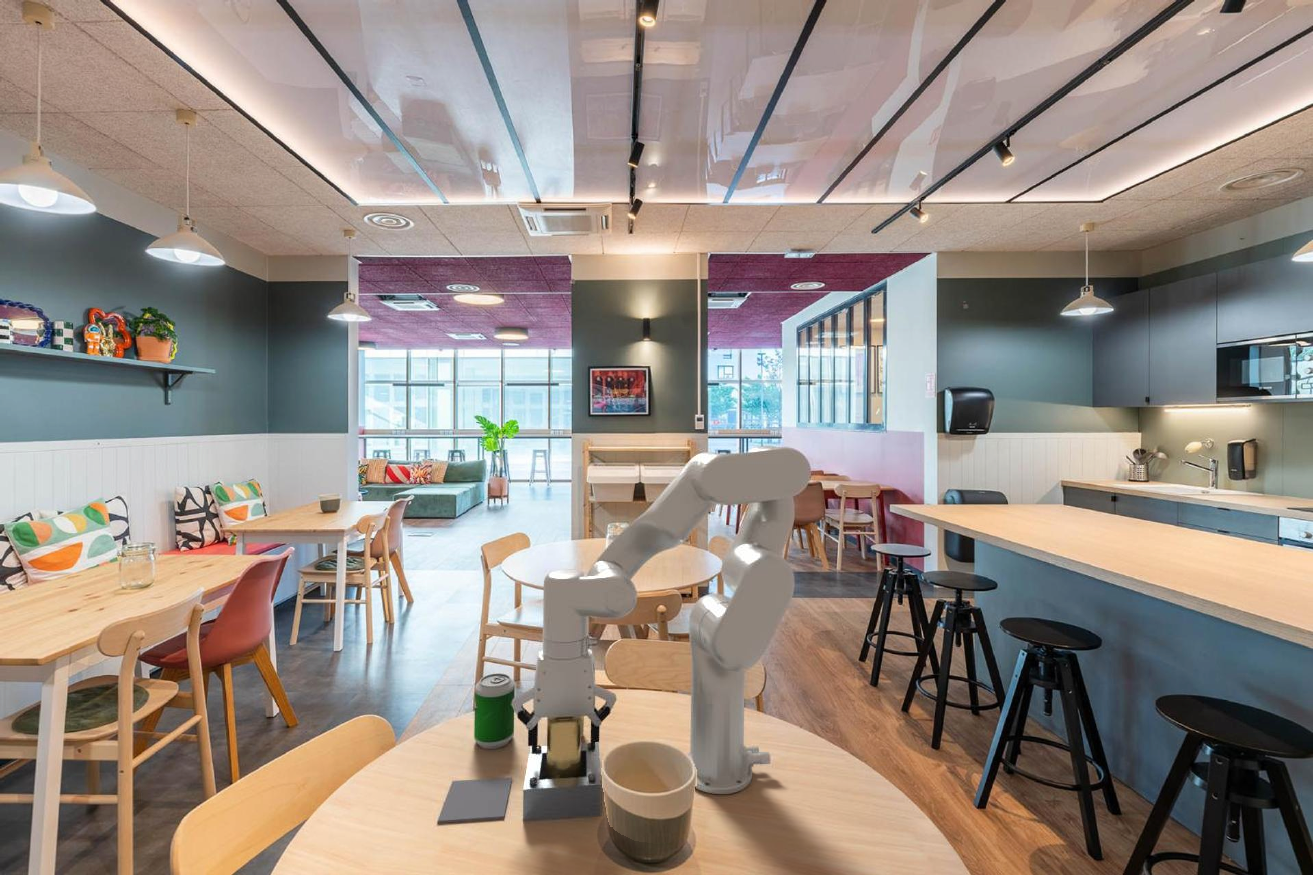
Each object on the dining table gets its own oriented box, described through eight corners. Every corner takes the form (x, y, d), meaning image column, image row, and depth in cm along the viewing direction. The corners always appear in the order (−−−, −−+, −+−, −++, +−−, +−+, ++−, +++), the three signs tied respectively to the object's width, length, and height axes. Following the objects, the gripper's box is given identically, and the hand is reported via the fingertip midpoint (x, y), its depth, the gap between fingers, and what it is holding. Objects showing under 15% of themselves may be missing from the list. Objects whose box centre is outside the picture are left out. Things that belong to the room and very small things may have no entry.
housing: (598, 770, 100) (598, 739, 100) (600, 815, 88) (600, 780, 88) (530, 774, 99) (530, 743, 99) (522, 821, 87) (523, 785, 87)
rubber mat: (512, 779, 97) (512, 777, 97) (504, 818, 87) (504, 815, 87) (452, 783, 96) (452, 780, 96) (437, 823, 86) (437, 820, 86)
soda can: (522, 737, 111) (523, 677, 111) (492, 755, 104) (493, 691, 104) (496, 726, 115) (496, 668, 115) (465, 743, 108) (466, 681, 108)
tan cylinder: (580, 782, 97) (581, 705, 96) (580, 804, 91) (581, 722, 91) (547, 784, 96) (548, 707, 96) (545, 806, 90) (546, 723, 90)
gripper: (615, 636, 98) (614, 732, 98) (515, 639, 96) (513, 738, 96) (618, 652, 91) (617, 757, 91) (509, 656, 88) (508, 763, 89)
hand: (563, 747), depth 93 cm, fingers open, 9 cm apart
